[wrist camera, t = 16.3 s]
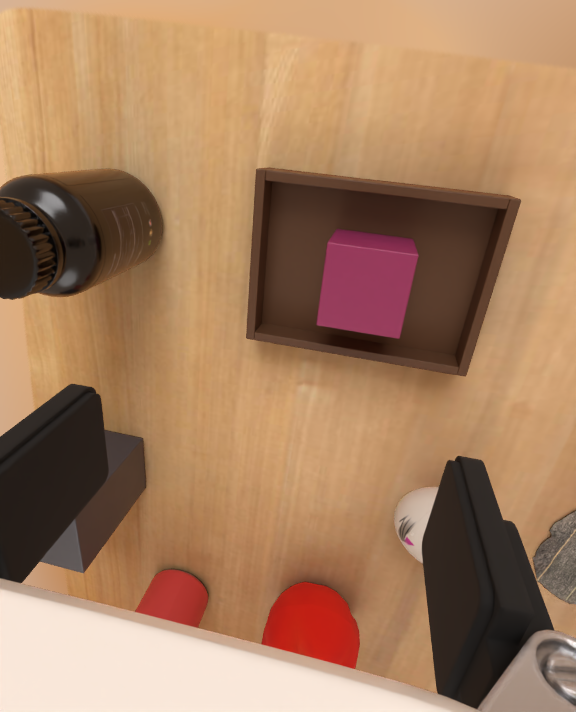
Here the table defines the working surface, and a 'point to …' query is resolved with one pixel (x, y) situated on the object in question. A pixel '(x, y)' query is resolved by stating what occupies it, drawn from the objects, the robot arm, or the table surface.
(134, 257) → the supplement bottle
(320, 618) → the tomato
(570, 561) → the sculpture
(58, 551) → the bottom block
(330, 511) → the table surface
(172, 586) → the beer can
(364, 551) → the table surface
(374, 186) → the tray
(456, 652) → the robot arm
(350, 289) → the top block
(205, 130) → the table surface
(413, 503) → the figurine
